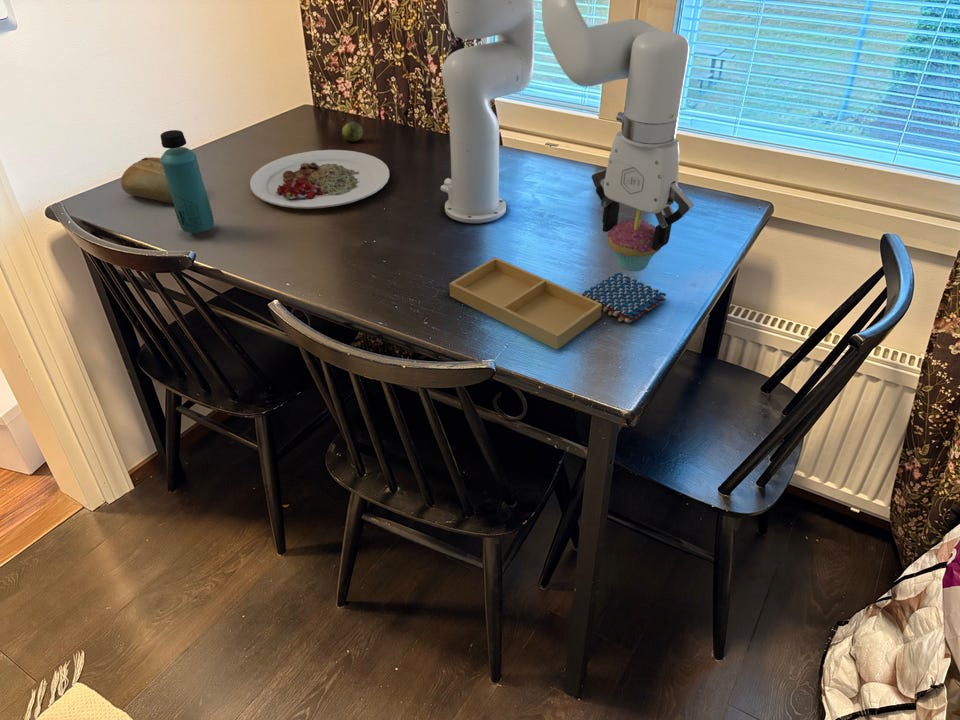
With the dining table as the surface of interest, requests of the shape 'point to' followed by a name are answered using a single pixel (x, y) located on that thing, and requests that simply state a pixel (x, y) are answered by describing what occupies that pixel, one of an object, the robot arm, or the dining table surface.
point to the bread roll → (147, 180)
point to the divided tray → (526, 302)
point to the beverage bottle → (185, 184)
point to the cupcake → (632, 243)
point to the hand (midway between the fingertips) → (634, 237)
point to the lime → (352, 131)
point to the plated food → (319, 179)
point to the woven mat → (625, 297)
